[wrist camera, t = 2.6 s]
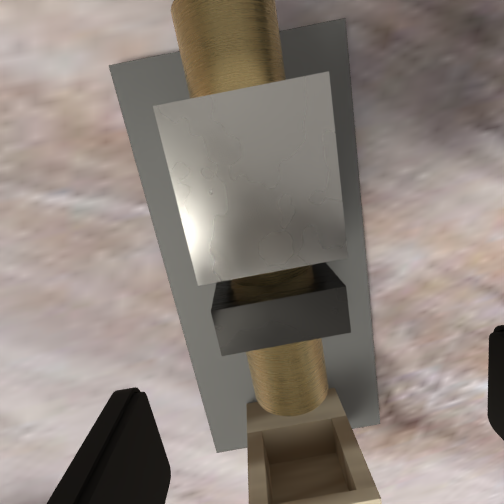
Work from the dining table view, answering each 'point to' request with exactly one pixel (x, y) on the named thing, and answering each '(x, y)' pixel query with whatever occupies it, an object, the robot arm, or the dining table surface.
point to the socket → (306, 458)
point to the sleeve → (256, 177)
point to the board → (201, 297)
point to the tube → (274, 283)
